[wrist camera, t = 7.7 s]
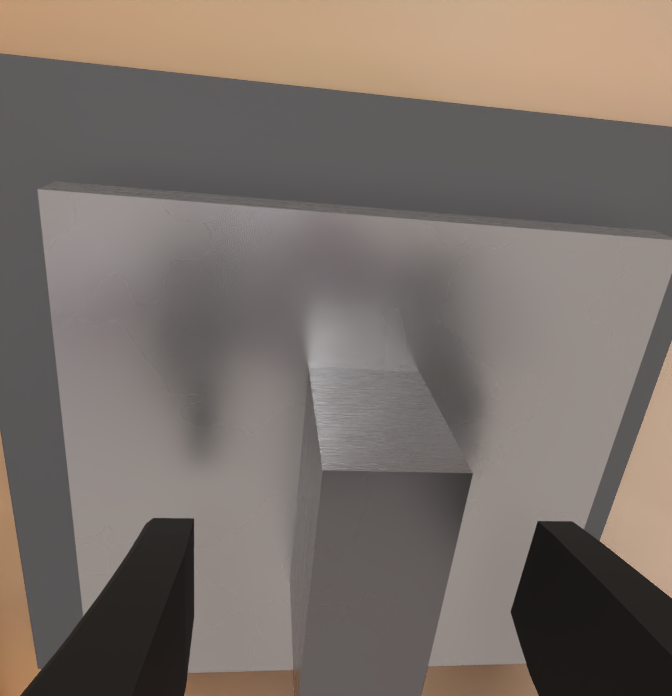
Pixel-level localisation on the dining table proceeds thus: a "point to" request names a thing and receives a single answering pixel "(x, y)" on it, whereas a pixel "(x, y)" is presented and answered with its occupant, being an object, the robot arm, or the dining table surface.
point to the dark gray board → (281, 184)
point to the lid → (338, 413)
